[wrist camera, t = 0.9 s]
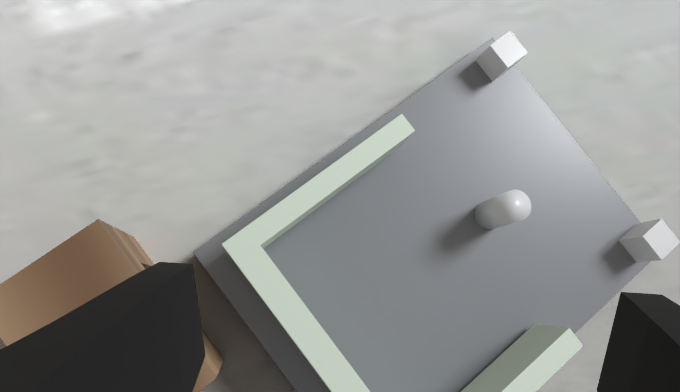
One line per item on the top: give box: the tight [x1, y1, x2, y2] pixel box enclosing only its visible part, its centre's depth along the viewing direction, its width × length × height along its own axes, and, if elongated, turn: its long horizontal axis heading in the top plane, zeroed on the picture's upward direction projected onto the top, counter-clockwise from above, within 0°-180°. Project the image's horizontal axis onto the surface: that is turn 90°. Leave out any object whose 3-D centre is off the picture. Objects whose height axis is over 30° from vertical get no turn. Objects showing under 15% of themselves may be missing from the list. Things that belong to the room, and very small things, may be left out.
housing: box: [222, 114, 583, 392], centre depth 20 cm, size 8×11×2 cm
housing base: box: [193, 31, 680, 392], centre depth 21 cm, size 16×12×4 cm
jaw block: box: [0, 219, 224, 392], centre depth 18 cm, size 4×6×5 cm, turn 38°
